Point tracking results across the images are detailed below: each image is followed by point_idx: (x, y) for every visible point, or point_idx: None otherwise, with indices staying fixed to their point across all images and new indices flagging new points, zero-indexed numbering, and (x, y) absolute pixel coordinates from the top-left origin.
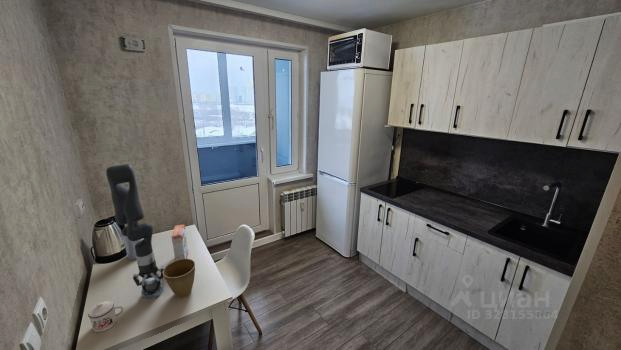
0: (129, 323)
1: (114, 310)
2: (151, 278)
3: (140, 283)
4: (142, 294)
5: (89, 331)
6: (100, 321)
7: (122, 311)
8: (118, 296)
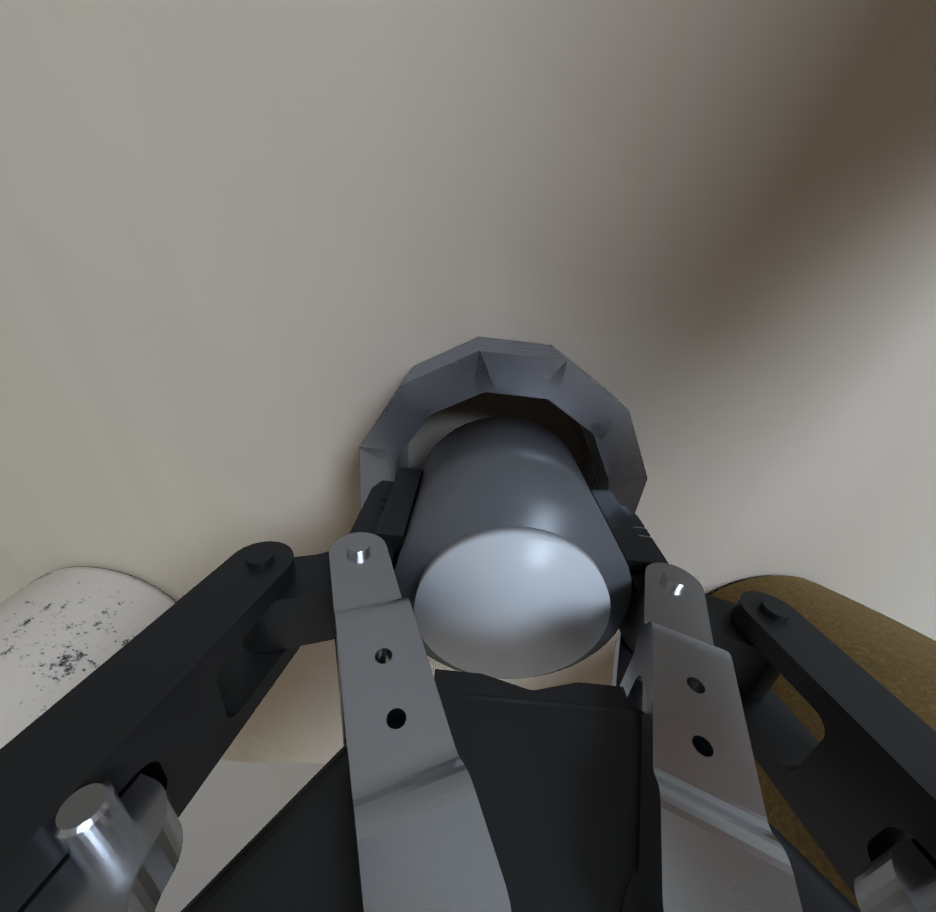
0: (305, 696)
1: None
2: (540, 558)
3: (310, 639)
4: None
5: None
6: None
7: None
8: (54, 258)
